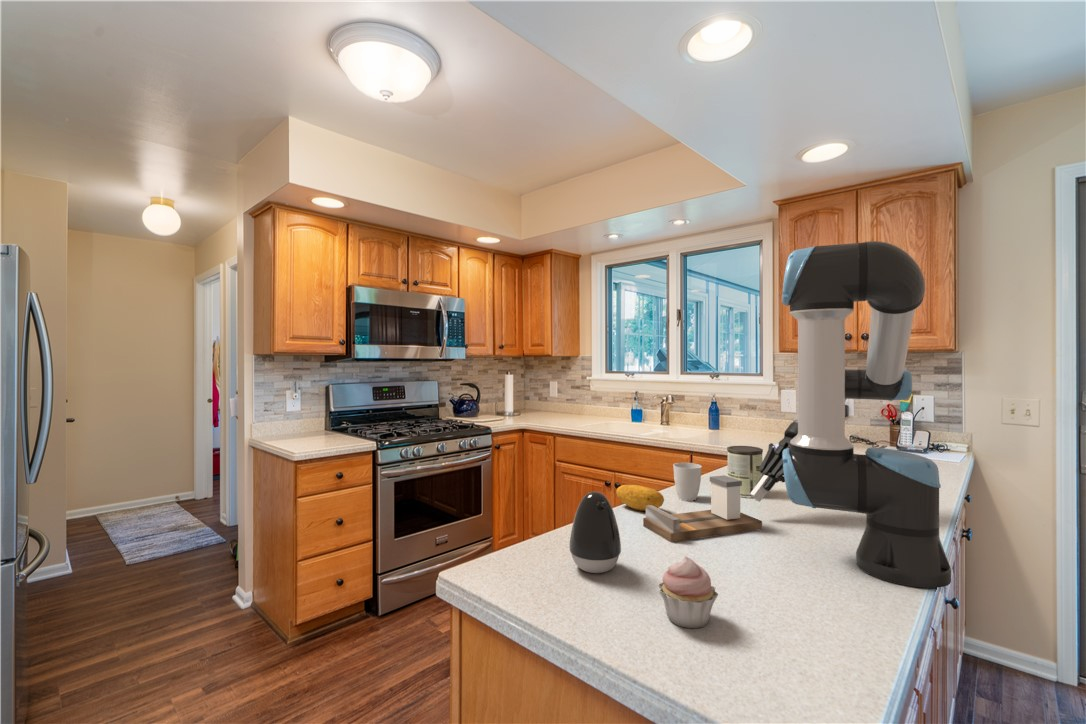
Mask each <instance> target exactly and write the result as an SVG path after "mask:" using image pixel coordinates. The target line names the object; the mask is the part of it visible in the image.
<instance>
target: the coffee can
mask: <svg viewBox="0 0 1086 724" xmlns="http://www.w3.org/2000/svg"><path fill="white" fill-rule="evenodd" d="M726 451H727V476H728V477H731V478H734V479H738V480H741V481H742V486H740V498H742V497H746V498H745V499H754V498H753V497H752V496H751V494H750V493H751V492H752V490H753V489H754V488H755V486H756V483H757V482H758V480H759V479H760V478H761V476H762V474H761V473H760V471H759V468H760V466H761V464H762V462H763V453H764V449H763V448H761V447H758V446H751V445H731V446H727V447H726Z"/></svg>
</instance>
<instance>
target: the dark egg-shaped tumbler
mask: <svg viewBox="0 0 1086 724" xmlns="http://www.w3.org/2000/svg"><path fill="white" fill-rule="evenodd" d="M569 552H570V554H571V558H572V560H573V562H574V564H575V565H576V566H577V567H578V568H579V569H580V570H582V571H584V572H587V573H590V574H602V573H606V572H608V571H610V570H612V569H613V567H615V566H616V564H617V562H618V561H619V557H620V555H621V552H622V543H621V536H620V531H619V527H618V522H617V518H616V515H615V511H614V509H613V507H612V505H611V503H610V500H609V499H608V497H606V495H605V494H604V493H602V492H599V491H590V492H588V493H586V494H585V495H584V496H583V497H582V498H581V500H580V501H579V504H578V506H577V509H576V512H575V514H574V519H573V522H572V527H571V531H570V537H569Z"/></svg>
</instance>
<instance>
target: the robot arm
mask: <svg viewBox="0 0 1086 724" xmlns="http://www.w3.org/2000/svg"><path fill="white" fill-rule="evenodd" d="M783 276H784V277H783V285H782V294H781V295H782V296H781V303H782V305H783V306H786V307H789V315H791V316H792V317H793V318H794V319H795V320H796V321H797V414H796V415H795V417H794V418H793V420H792V422H791V423H790V424H789V425H788V427H787V428H786V429H785V430H784V432H783V433H784V435H783V438H782V439H781V440H779V442H778V443H775V444H774V443H772V442H770V443H769V444H768V449H767V451H766V454H765V456H764V458H763V459H762V461H763V462H762V464H761V466H760V468H759V471H760V473H761V474H762V476H761V478H760V479H759V480H758V482H757V483H756V486H755V488H754V489H753V490H752V492H751V493H750V494H751V496H752V497H753V498H752V499H754V500H755V502H756V501H757V502H759V503H761V501H762V500H763V499H764V498H765V496H766V495H767V494H768V492H770V491H771V490H772V489H773V487H774V486H775V484H778V483H779V482H781V483H784V484H785V489H786V493H787V497H788V499H789V500H790V501H791V502H792V503H793V504H795V505H798V506H803V507H810V508H812V509H816V508H817V509H824V510H832V511H833V510H834V511H841V512H849V513H857V514H865V515H866V517H865V518H866V521H865V522H866V523H865V525H866V526H865V529H864V531H863V534H862V537H861V539H860V541H859V544H858V547H857V549H856V552H855V563H856V566H857V567H858V568H859V569H860V570H862V571H863V572H865V573H866V574H868V575H870V576H872V577H875V578H878V579H880V580H883V581H887V582H891V583H894V584H898V585H902V586H903V585H904V586H907V587H914V588H925V589H938V588H943V587H946V586H947V587H948V586H949V585H950V584H951V583H952V568H951V565H950V563H949V560H948V558H947V554H946V552H945V549H944V546H943V544H942V541H941V537H940V488H941V483H940V471H939V467H938V464H936V463H935V461H934V460H932V459H929V458H928V457H926V456H922V455H919V454H915V453H913V452H912V453H911V452H908V451H902V450H897V449H892V448H885V447H876V446H875V447H867V449H866V451H865V452H864V453H865V454H860V453H854V452H855V451H854V447H855V446H854V444H853V443H852V442H851V441H850V440H849V439H848V438H847V437H846V400H850V399H851V400H875V401H877V400H878V401H889V402H892V401H907V400H909V399H910V398H911V397H912V394H913V391H912V389H913V377H912V373H911V371H910V370H908V369H905V366H906V363H907V362H906V361H907V355H908V351H909V345H910V339H911V334H912V328H913V324H914V323H913V322H914V319H915V318H914V317H915V312H916V310H917V309H918V308H919V307H920V306H922V304H923V301H924V297H925V292H926V283H925V277H924V275H923V272H922V269H921V268H920V265H918V262H916V260H915V259H914V258H913V257H912V256H911V255H910V254H909V253H908V252H906V251H905V250H904V249H902V248H901V247H899V246H896V245H894V244H892V243H889V242H885V241H880V240H879V241H878V240H870V241H864V242H852V243H841V244H829V245H826V244H825V245H818V246H817V245H816V246H815V245H814V246H811V247H806V248H801V249H800V248H798V249H795V250H793V251H792V252H790V254H789V255H788V257H787V260H786V265H785V271H784V275H783ZM857 302H867V304H868V306H869V307H870V308H871V309H870V310H871V311H870V321H869V332H868V335H869V336H868V342H867V343H868V344H867V355H866V366H865V367H866V369H848V368H847V369H846V320H847V319H846V318H848V317H849V316H850V315H851V314H852V313H853V312H854V310H855V305H854V303H857Z"/></svg>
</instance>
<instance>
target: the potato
mask: <svg viewBox="0 0 1086 724" xmlns="http://www.w3.org/2000/svg"><path fill="white" fill-rule="evenodd" d="M615 492H616V496H617V497H618V499H619V501H620V502H621V503H623V504H624V505H626V506H628V507H630V508H631V509H633V510H634V511H635V510H636V511H640V512H641V511H642V512H646V506H647V505H652V506H654V507H656V508H658V509H660V508H661V507H662V506H663V504H664V502H665V498H664V495H663V494H662V493H661V491H658V490H656V489H654V488H651V487H648V486H647V487H646V486H642V485H640V484H639V485H638V484H637V485H636V484H623V485H620V486H618V487H617V489H616V491H615Z"/></svg>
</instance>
